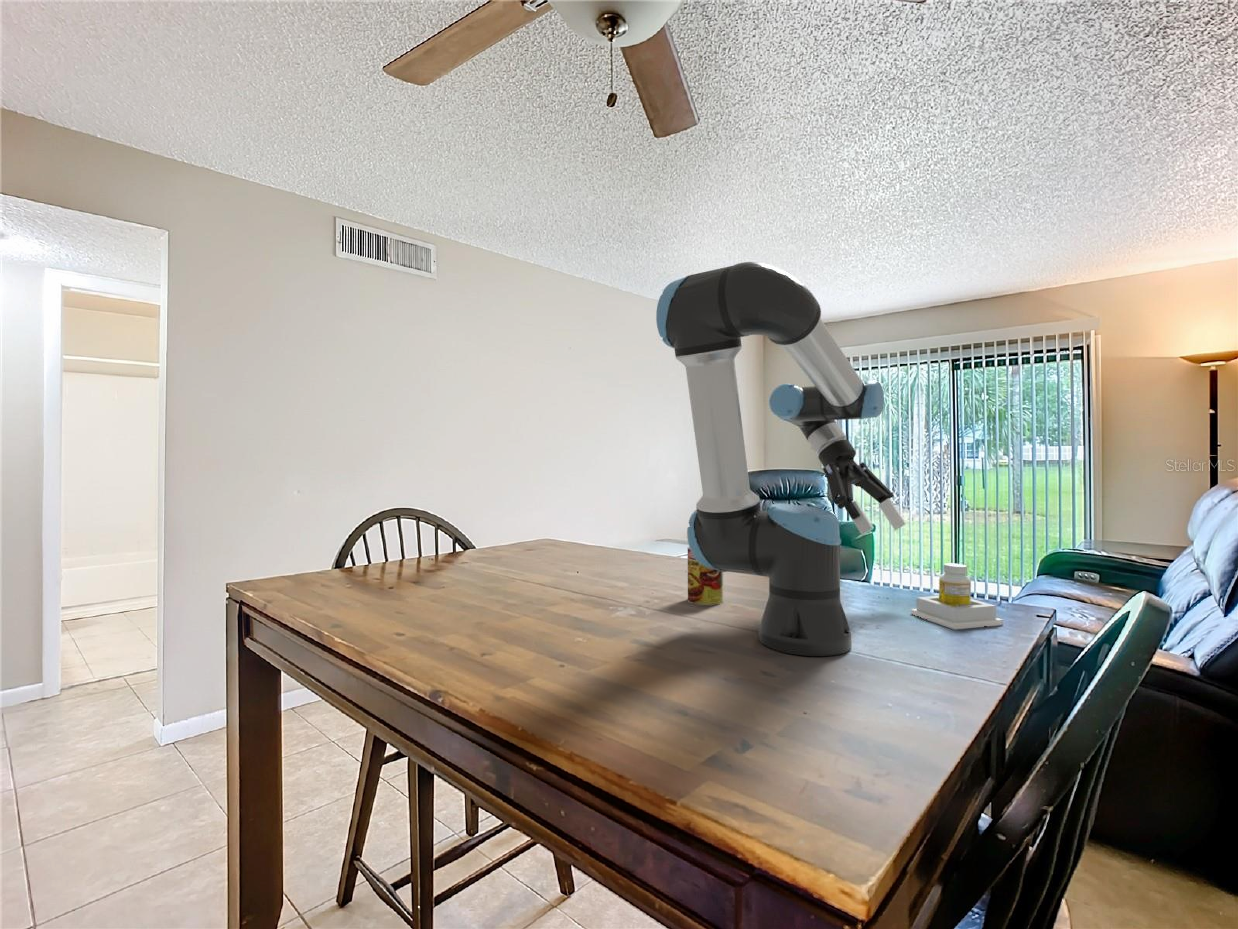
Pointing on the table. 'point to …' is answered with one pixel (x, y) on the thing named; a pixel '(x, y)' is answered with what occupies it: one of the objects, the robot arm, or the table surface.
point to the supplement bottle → (955, 585)
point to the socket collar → (957, 613)
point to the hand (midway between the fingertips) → (884, 529)
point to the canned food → (703, 583)
